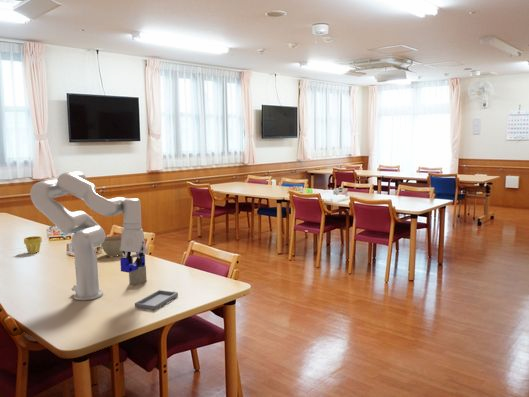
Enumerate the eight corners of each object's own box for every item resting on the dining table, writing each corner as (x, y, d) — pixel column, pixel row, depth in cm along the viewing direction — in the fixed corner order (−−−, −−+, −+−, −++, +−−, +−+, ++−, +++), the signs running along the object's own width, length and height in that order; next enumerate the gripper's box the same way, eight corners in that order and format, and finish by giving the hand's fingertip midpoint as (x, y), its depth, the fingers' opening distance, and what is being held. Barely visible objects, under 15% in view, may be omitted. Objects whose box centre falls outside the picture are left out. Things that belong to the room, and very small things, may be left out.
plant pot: (45, 251, 295) (44, 237, 294) (30, 255, 286) (29, 240, 285) (36, 249, 301) (35, 235, 299) (21, 253, 292) (20, 238, 291)
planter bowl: (101, 253, 289) (100, 236, 288) (127, 251, 294) (126, 234, 292) (100, 259, 274) (99, 242, 272) (128, 257, 279) (127, 239, 277)
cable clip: (128, 272, 196) (127, 259, 195) (120, 271, 198) (120, 258, 197) (147, 265, 206) (147, 253, 205) (140, 264, 208) (139, 252, 208)
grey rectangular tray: (134, 307, 194) (134, 303, 193) (159, 294, 210) (158, 289, 210) (154, 310, 190) (154, 306, 190) (177, 296, 207) (177, 292, 206)
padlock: (128, 283, 226) (127, 254, 224) (143, 280, 232) (142, 251, 230) (132, 285, 223) (130, 256, 221) (147, 281, 229) (146, 253, 227)
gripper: (111, 226, 199) (113, 266, 202) (143, 229, 193) (145, 270, 196) (122, 223, 206) (124, 261, 209) (153, 225, 200) (155, 265, 203)
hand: (134, 265), depth 202 cm, fingers closed on cable clip, 4 cm apart
